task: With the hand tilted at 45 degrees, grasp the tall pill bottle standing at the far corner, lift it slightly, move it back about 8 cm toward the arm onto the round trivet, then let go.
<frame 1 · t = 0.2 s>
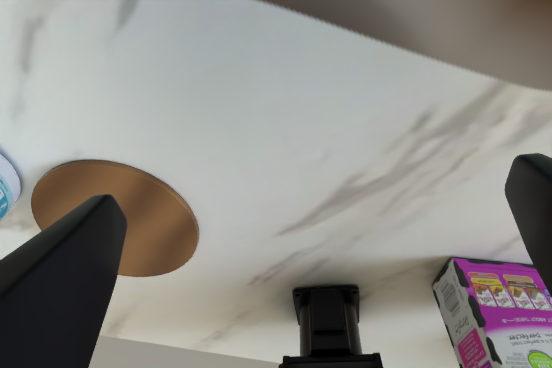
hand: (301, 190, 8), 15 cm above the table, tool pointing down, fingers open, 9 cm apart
candy bar box: (495, 276, 34), on the table
trivet: (119, 224, 31), on the table
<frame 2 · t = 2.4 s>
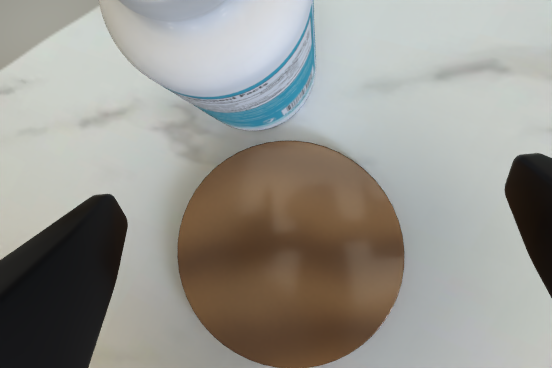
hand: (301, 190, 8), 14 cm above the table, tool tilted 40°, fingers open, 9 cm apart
trivet: (287, 252, 22), on the table
pill bottle: (256, 74, 22), on the table
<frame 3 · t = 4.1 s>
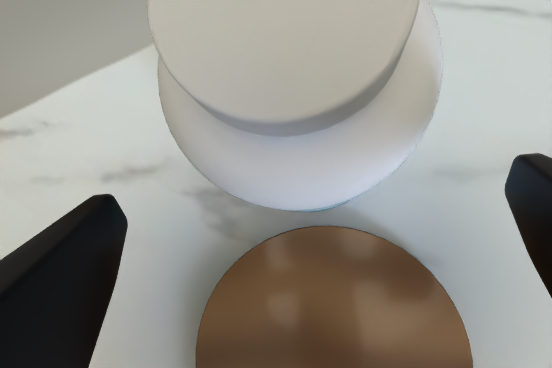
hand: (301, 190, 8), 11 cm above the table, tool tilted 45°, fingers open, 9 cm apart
trivet: (327, 360, 18), on the table
pill bottle: (309, 144, 19), on the table
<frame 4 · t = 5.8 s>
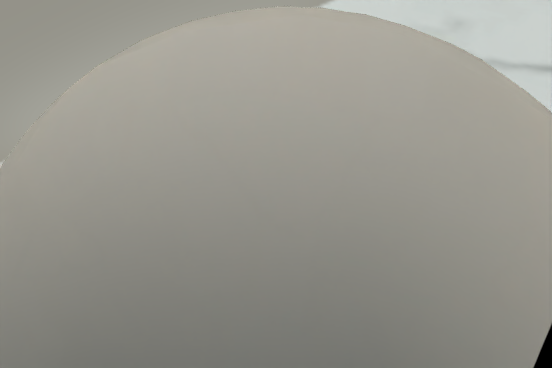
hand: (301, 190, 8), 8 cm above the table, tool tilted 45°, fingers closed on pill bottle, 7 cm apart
pill bottle: (314, 234, 16), on the table, touching gripper
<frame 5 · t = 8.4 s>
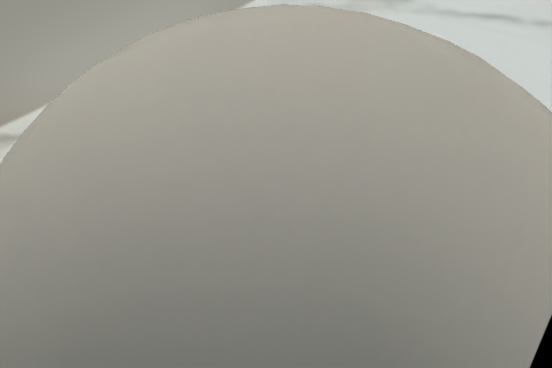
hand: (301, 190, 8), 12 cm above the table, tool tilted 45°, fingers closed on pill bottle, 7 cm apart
pill bottle: (314, 233, 16), point 4 cm above the table, touching gripper
when the fingers open (8 cm above the table, at t = 11.2 s): pill bottle stays where it is, resting on trivet.
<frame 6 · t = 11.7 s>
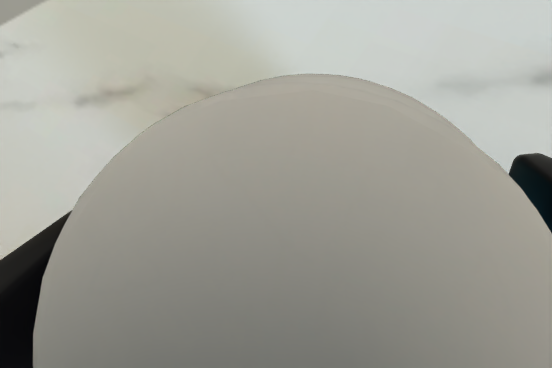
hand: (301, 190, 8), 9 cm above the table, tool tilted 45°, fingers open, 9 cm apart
pill bottle: (316, 238, 16), resting on trivet
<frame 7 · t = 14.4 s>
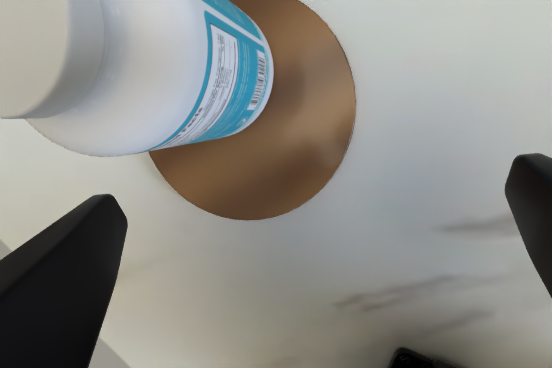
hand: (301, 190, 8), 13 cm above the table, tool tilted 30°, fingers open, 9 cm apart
trivet: (241, 110, 22), on the table
pill bottle: (218, 75, 21), resting on trivet
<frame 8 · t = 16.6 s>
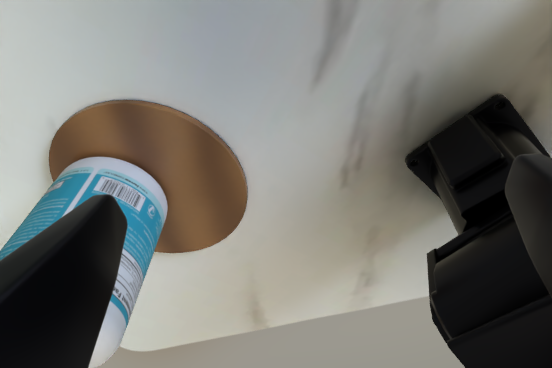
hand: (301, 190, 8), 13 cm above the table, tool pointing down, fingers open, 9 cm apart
trivet: (152, 186, 26), on the table
pill bottle: (120, 192, 26), resting on trivet
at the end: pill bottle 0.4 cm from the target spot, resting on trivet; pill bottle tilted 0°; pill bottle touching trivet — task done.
